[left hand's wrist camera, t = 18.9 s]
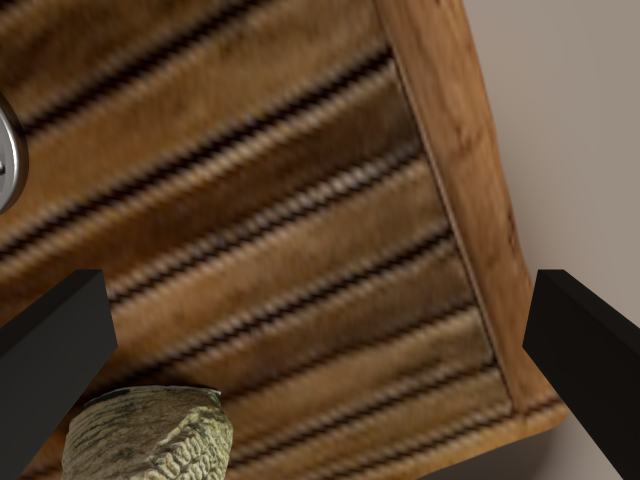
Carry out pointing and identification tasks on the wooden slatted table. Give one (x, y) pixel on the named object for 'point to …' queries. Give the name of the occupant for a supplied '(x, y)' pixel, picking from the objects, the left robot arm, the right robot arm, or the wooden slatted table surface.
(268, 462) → the wooden slatted table surface
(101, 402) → the fossil
